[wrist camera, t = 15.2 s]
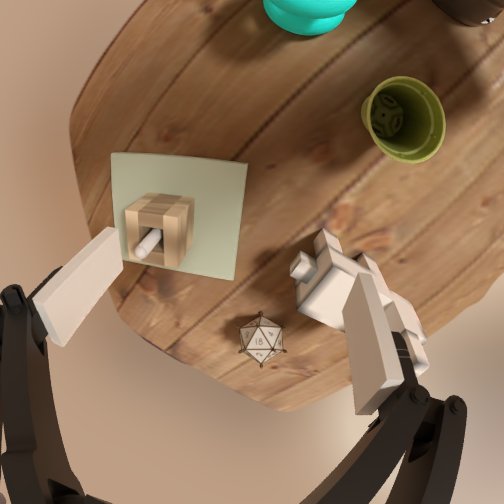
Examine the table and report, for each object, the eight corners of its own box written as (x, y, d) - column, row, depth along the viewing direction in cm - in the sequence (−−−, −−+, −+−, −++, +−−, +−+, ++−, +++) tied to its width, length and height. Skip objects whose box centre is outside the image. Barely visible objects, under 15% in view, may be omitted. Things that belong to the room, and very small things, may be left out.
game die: (270, 302, 50) (299, 319, 41) (272, 343, 52) (300, 365, 42) (223, 312, 47) (245, 333, 38) (228, 355, 48) (250, 382, 39)
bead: (148, 191, 37) (125, 210, 31) (194, 197, 37) (177, 217, 31) (150, 235, 40) (129, 258, 34) (193, 242, 40) (177, 268, 34)
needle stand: (114, 151, 35) (63, 173, 25) (248, 163, 35) (233, 188, 25) (121, 256, 44) (85, 297, 34) (234, 277, 44) (219, 330, 34)
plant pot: (398, 161, 32) (428, 178, 24) (337, 132, 31) (354, 140, 24) (421, 102, 27) (455, 104, 20) (360, 69, 27) (383, 59, 19)
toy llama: (308, 219, 38) (326, 320, 20) (394, 273, 40) (440, 371, 23) (280, 259, 41) (275, 369, 24) (366, 304, 44) (394, 405, 27)
